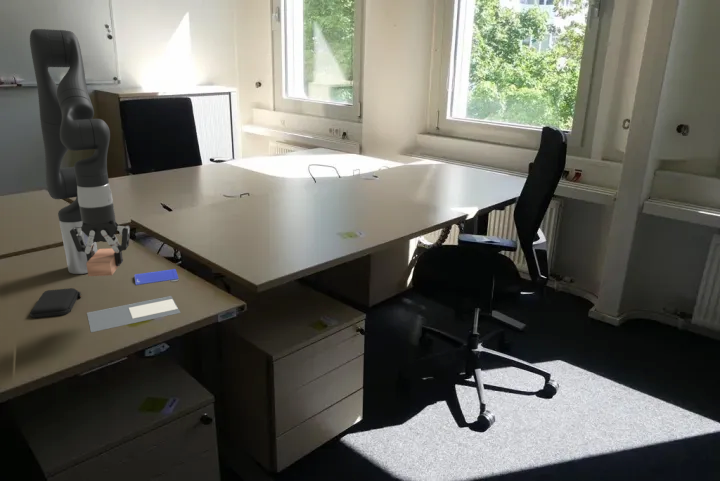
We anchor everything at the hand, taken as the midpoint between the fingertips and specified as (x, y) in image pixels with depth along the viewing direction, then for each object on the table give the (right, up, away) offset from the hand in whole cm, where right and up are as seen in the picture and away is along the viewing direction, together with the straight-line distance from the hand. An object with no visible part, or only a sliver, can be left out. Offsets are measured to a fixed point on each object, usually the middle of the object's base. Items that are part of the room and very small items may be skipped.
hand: (106, 265), depth 136 cm
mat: (+4, -14, +8) cm, 16 cm away
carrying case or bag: (-19, -13, +12) cm, 25 cm away
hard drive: (+1, -6, +30) cm, 31 cm away
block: (0, -1, 0) cm, 1 cm away
